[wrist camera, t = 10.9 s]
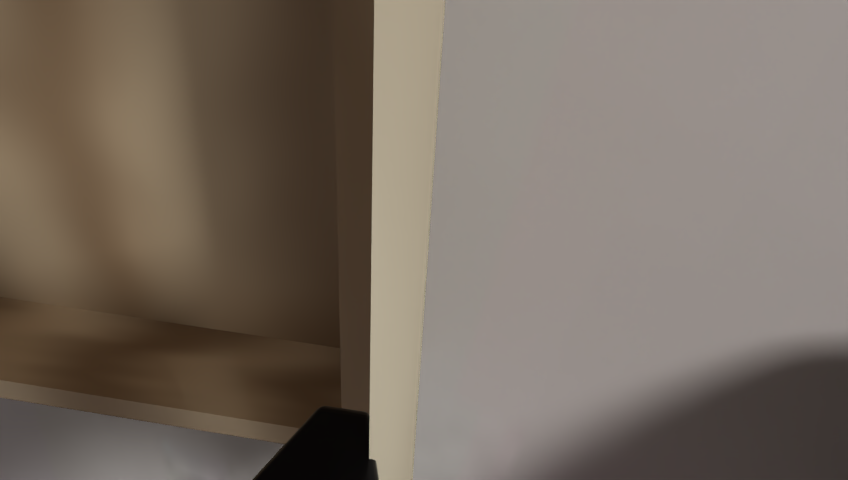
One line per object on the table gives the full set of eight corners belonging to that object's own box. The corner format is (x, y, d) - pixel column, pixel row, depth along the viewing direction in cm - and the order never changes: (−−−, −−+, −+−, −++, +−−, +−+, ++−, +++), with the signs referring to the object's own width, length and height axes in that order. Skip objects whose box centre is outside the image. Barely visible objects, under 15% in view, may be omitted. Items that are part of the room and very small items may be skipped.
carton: (432, -514, 12) (384, -572, 9) (396, 355, 25) (370, 458, 21) (-440, -551, 14) (-739, -613, 11) (-68, 286, 26) (-156, 371, 23)
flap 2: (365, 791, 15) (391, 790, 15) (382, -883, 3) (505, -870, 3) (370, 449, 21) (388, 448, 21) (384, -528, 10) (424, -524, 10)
